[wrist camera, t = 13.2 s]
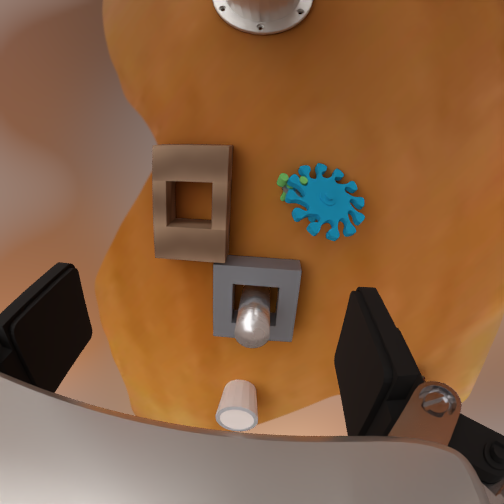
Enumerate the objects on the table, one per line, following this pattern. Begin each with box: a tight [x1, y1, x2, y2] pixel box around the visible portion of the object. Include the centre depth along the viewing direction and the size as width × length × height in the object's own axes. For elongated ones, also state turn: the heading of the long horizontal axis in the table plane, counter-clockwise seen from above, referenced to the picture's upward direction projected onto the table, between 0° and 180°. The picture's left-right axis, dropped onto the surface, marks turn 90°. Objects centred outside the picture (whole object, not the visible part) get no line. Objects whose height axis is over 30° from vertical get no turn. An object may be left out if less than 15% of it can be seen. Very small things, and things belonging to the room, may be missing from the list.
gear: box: [277, 163, 365, 241], centre depth 37 cm, size 11×6×10 cm
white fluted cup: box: [216, 380, 258, 431], centre depth 49 cm, size 7×7×7 cm
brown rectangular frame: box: [152, 144, 233, 263], centre depth 38 cm, size 14×9×4 cm, turn 177°
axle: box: [234, 285, 270, 348], centre depth 40 cm, size 4×4×10 cm
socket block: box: [213, 255, 302, 342], centre depth 43 cm, size 11×11×4 cm
